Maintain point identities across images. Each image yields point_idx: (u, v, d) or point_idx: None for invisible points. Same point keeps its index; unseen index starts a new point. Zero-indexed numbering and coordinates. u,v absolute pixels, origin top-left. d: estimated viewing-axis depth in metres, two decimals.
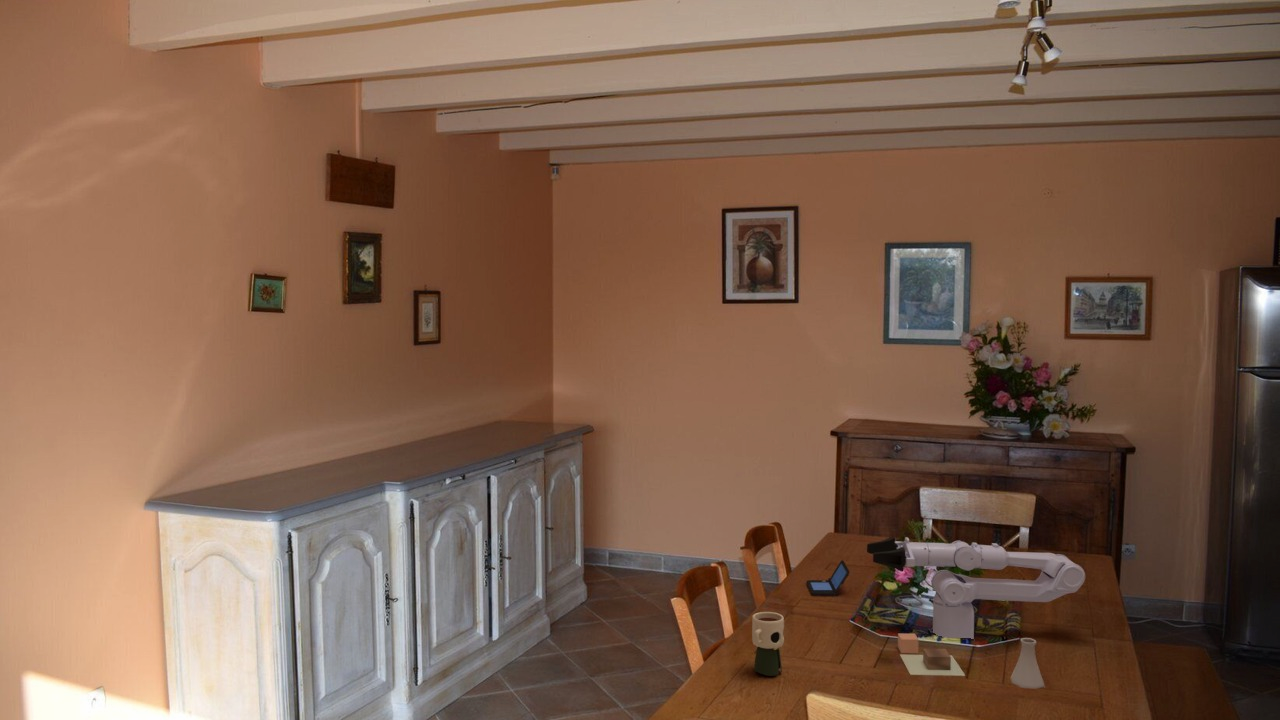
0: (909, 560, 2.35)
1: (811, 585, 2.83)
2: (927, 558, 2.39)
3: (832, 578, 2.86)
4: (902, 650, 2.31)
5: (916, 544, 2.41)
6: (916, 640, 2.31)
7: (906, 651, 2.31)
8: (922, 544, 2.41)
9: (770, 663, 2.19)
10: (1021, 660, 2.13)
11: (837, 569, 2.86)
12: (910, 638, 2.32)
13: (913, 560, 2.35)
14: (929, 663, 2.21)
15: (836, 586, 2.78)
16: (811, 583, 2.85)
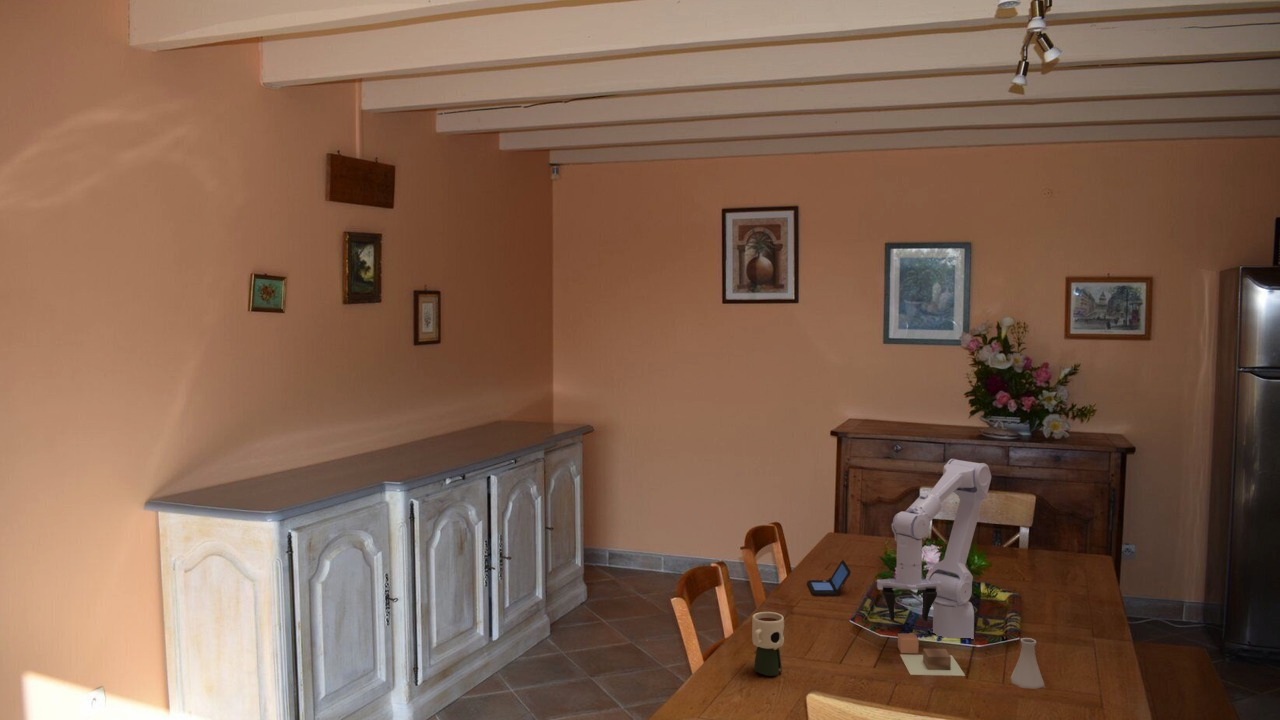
0: None
1: (812, 585, 2.83)
2: None
3: (833, 578, 2.86)
4: (902, 650, 2.31)
5: (915, 577, 2.29)
6: (916, 640, 2.31)
7: (906, 651, 2.31)
8: (914, 570, 2.29)
9: (770, 663, 2.19)
10: (1021, 660, 2.13)
11: (838, 569, 2.86)
12: (910, 638, 2.32)
13: None
14: (929, 663, 2.21)
15: (837, 586, 2.78)
16: (812, 583, 2.85)
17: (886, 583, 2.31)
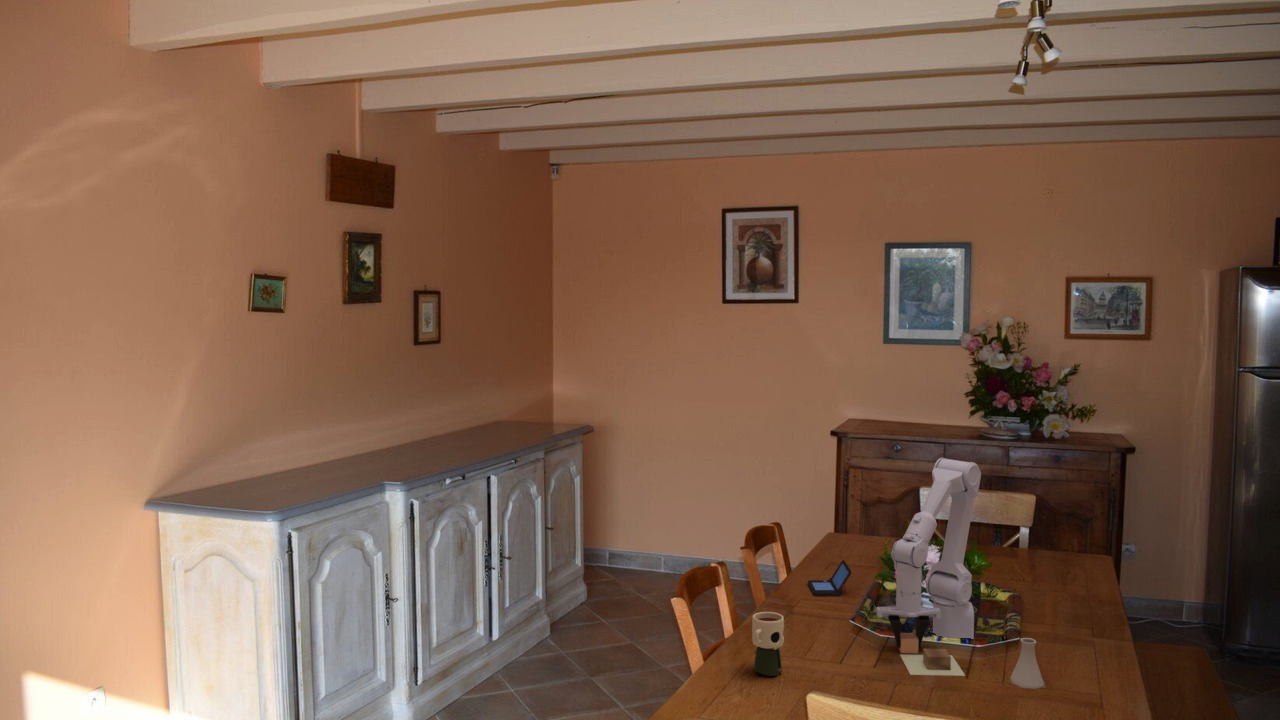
0: None
1: (813, 585, 2.83)
2: None
3: (833, 578, 2.86)
4: (902, 650, 2.31)
5: (914, 604, 2.30)
6: (916, 640, 2.31)
7: (906, 651, 2.31)
8: (914, 598, 2.30)
9: (770, 663, 2.19)
10: (1021, 660, 2.13)
11: (838, 569, 2.86)
12: (910, 638, 2.32)
13: None
14: (929, 663, 2.21)
15: (838, 586, 2.78)
16: (812, 583, 2.85)
17: (886, 611, 2.32)
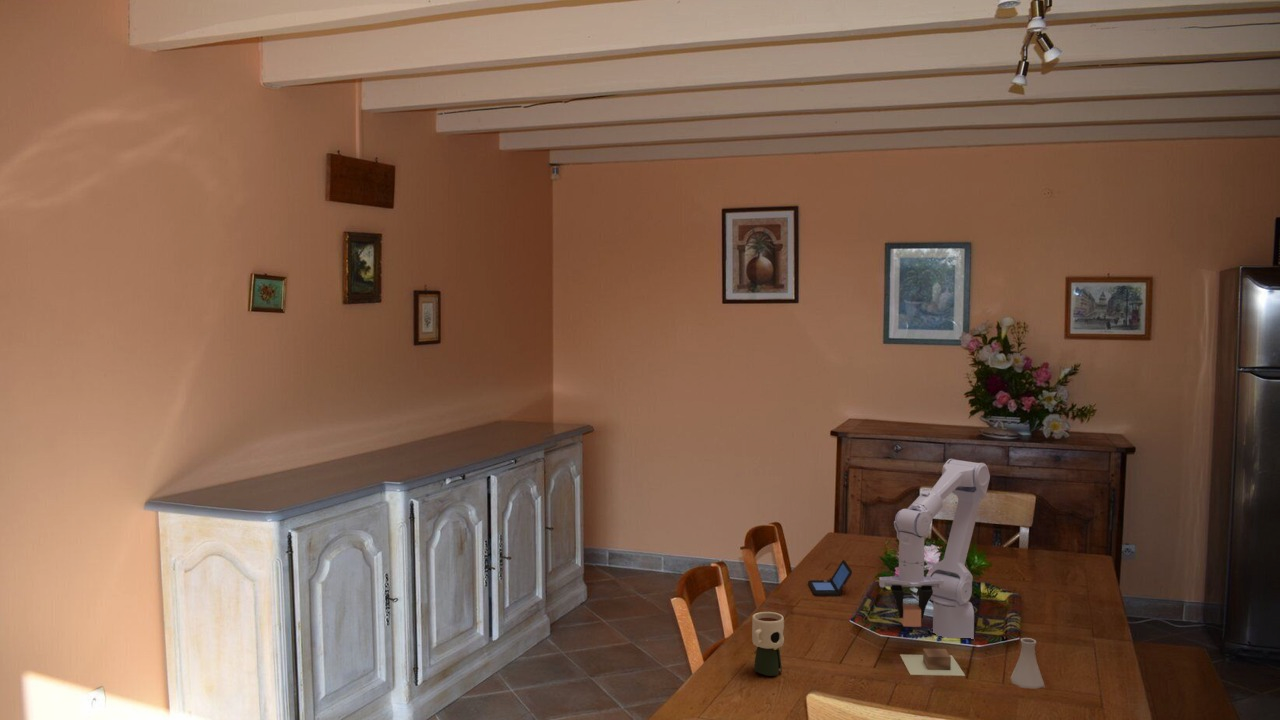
0: None
1: (813, 585, 2.83)
2: None
3: (834, 578, 2.86)
4: (905, 620, 2.30)
5: (917, 574, 2.28)
6: (919, 610, 2.30)
7: (909, 621, 2.30)
8: (917, 568, 2.28)
9: (770, 663, 2.19)
10: (1021, 660, 2.13)
11: (839, 569, 2.86)
12: (912, 608, 2.30)
13: None
14: (929, 663, 2.21)
15: (839, 586, 2.78)
16: (813, 583, 2.85)
17: (888, 580, 2.30)
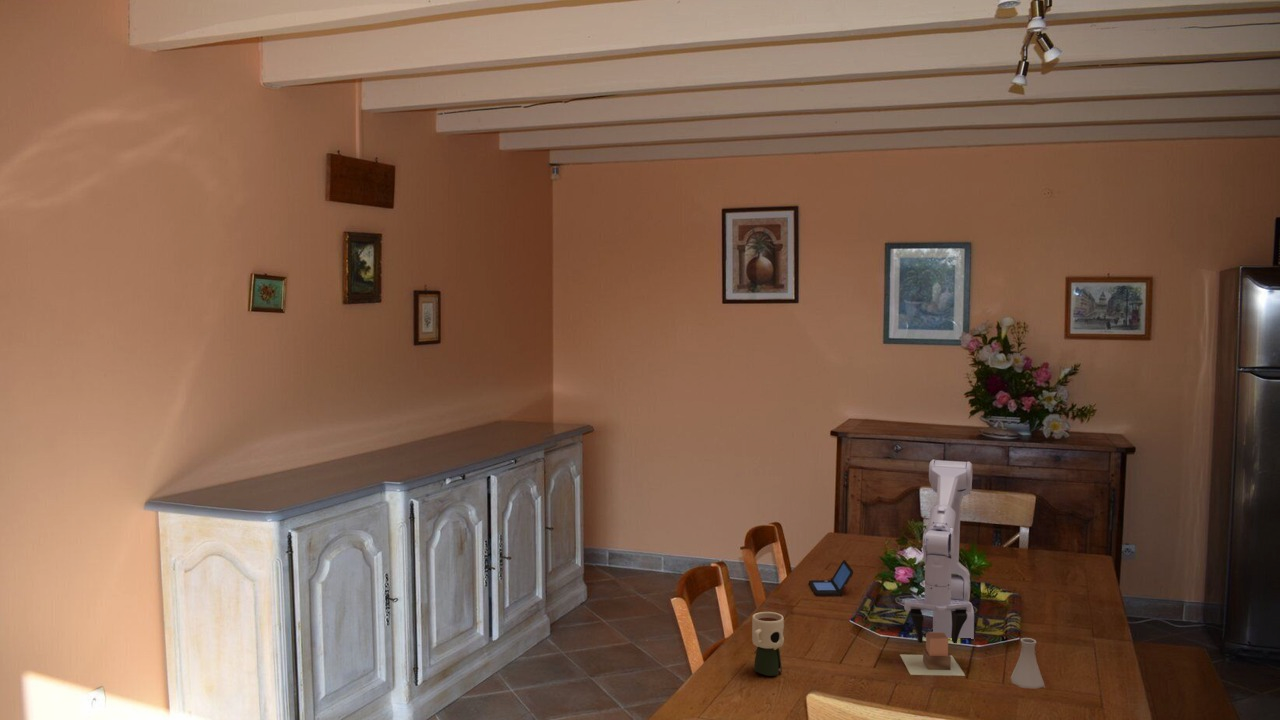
0: None
1: (814, 585, 2.83)
2: None
3: (834, 578, 2.86)
4: (931, 650, 2.21)
5: (944, 598, 2.20)
6: (946, 639, 2.21)
7: (935, 651, 2.21)
8: (944, 591, 2.19)
9: (770, 663, 2.19)
10: (1021, 660, 2.13)
11: (839, 569, 2.86)
12: (939, 637, 2.22)
13: None
14: (929, 663, 2.21)
15: (840, 586, 2.78)
16: (814, 583, 2.85)
17: (914, 604, 2.22)
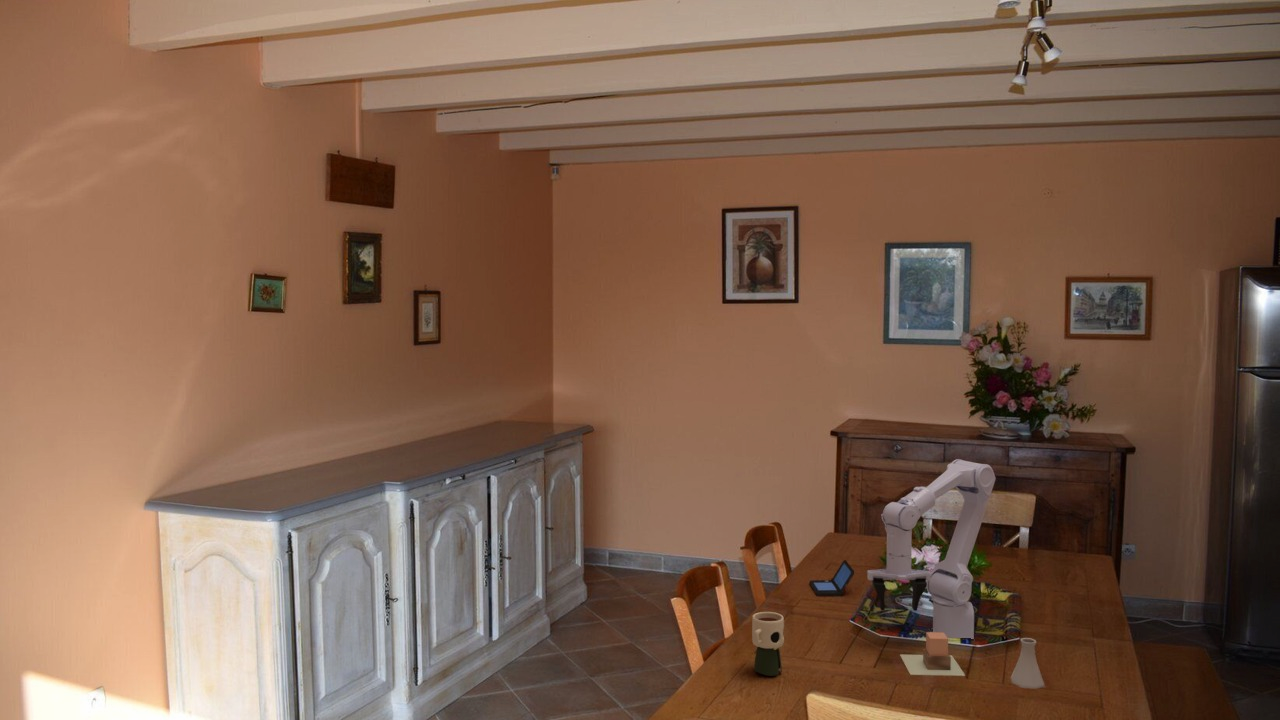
0: None
1: (815, 585, 2.83)
2: None
3: (835, 578, 2.86)
4: (931, 650, 2.21)
5: (905, 567, 2.31)
6: (946, 639, 2.21)
7: (935, 651, 2.21)
8: (904, 561, 2.31)
9: (770, 663, 2.19)
10: (1021, 660, 2.13)
11: (840, 569, 2.86)
12: (939, 637, 2.22)
13: None
14: (929, 663, 2.21)
15: (841, 586, 2.78)
16: (814, 583, 2.84)
17: (876, 574, 2.33)
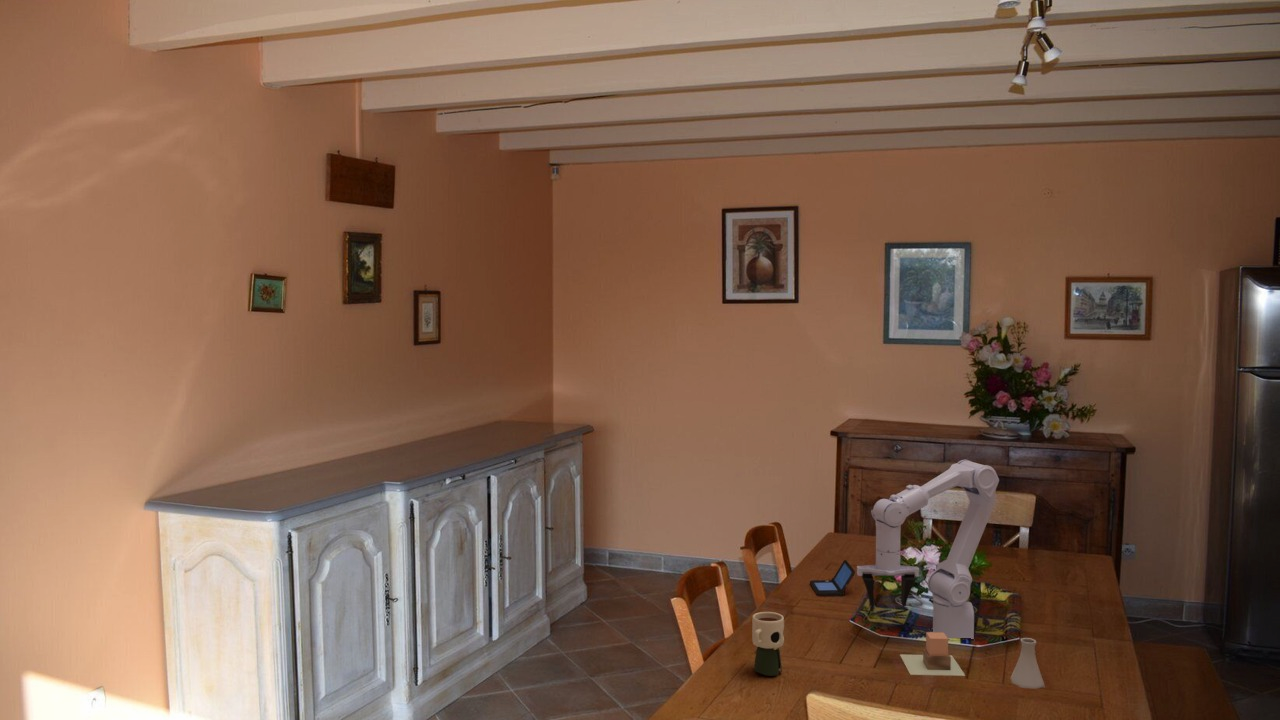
0: None
1: (815, 585, 2.83)
2: None
3: (835, 578, 2.86)
4: (931, 650, 2.21)
5: (893, 563, 2.34)
6: (946, 639, 2.21)
7: (935, 651, 2.21)
8: (893, 557, 2.34)
9: (770, 663, 2.19)
10: (1021, 660, 2.13)
11: (840, 569, 2.86)
12: (939, 637, 2.22)
13: None
14: (929, 663, 2.21)
15: (841, 586, 2.78)
16: (815, 583, 2.84)
17: (865, 569, 2.36)
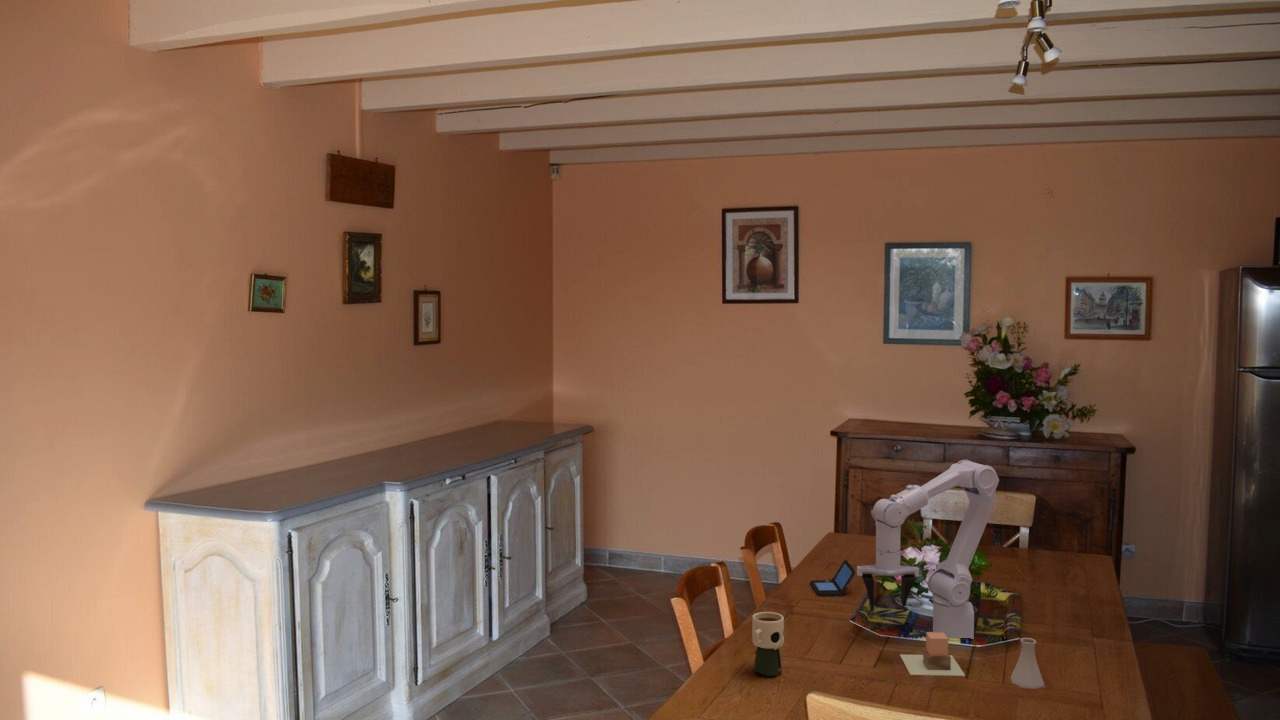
0: None
1: (816, 585, 2.83)
2: None
3: (836, 578, 2.86)
4: (931, 650, 2.21)
5: (893, 563, 2.34)
6: (946, 639, 2.21)
7: (935, 651, 2.21)
8: (893, 557, 2.34)
9: (770, 663, 2.19)
10: (1021, 660, 2.13)
11: (841, 569, 2.86)
12: (939, 637, 2.22)
13: None
14: (929, 663, 2.21)
15: (842, 586, 2.78)
16: (815, 583, 2.84)
17: (865, 569, 2.36)
